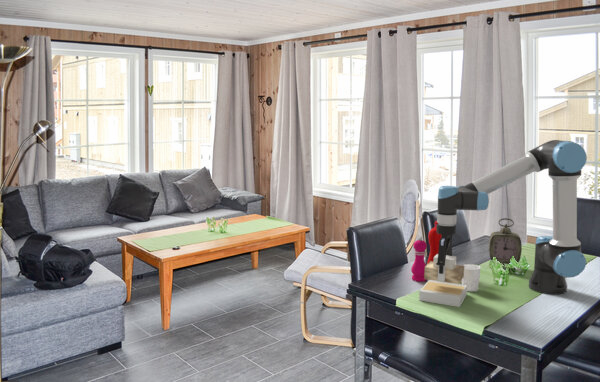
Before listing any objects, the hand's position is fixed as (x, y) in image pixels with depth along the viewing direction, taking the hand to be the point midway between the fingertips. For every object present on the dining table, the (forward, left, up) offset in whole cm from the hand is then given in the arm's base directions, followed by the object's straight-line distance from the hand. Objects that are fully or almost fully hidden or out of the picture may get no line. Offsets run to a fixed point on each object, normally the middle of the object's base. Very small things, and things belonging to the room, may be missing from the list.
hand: (443, 277), depth 216 cm
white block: (0, 0, +5) cm, 5 cm away
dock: (0, 0, -9) cm, 9 cm away
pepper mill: (+15, -19, -9) cm, 26 cm away
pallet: (0, 0, 0) cm, 0 cm away
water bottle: (+9, -34, -9) cm, 36 cm away
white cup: (-8, -16, -9) cm, 20 cm away
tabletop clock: (-18, -56, -9) cm, 59 cm away
